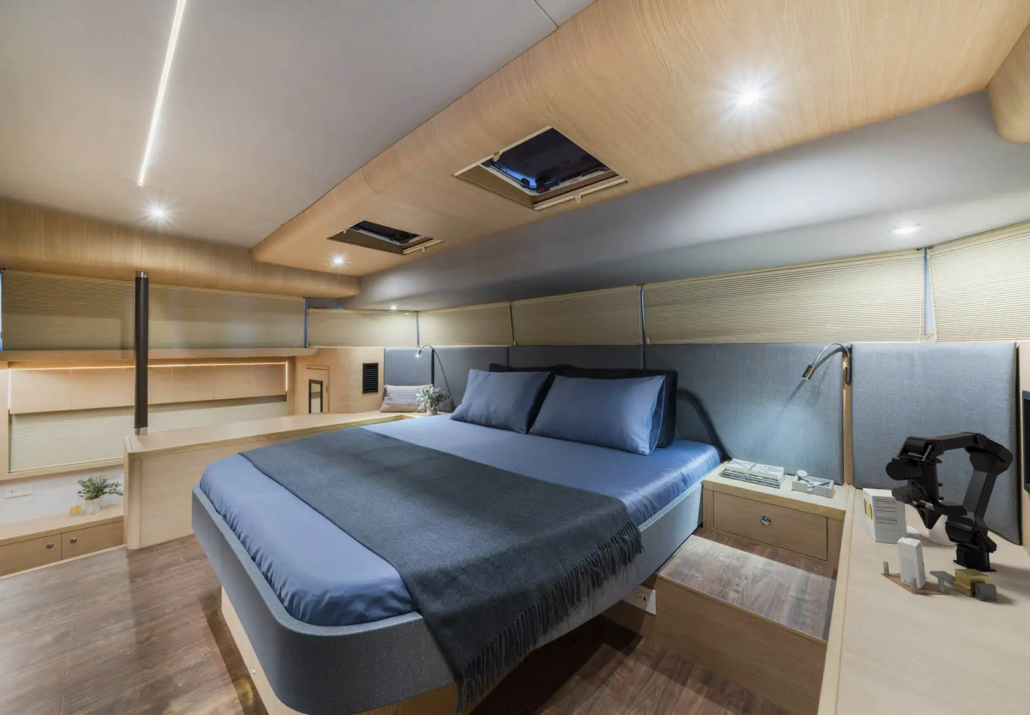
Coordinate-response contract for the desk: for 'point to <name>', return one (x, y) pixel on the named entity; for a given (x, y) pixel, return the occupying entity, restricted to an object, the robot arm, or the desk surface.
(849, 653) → the desk surface
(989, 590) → the rail
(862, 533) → the desk surface
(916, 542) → the skincare box
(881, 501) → the supplement box
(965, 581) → the collar
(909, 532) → the external hard drive
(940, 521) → the candle
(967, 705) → the desk surface
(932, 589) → the peg cradle
